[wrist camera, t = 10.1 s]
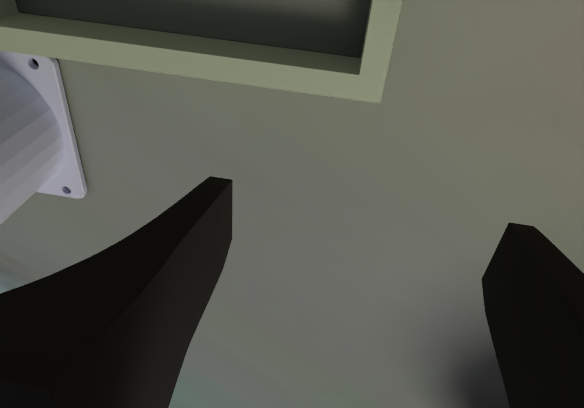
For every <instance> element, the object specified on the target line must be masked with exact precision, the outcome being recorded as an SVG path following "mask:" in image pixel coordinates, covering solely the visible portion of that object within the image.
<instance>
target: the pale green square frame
mask: <svg viewBox="0 0 584 408" xmlns="http://www.w3.org/2000/svg"><path fill="white" fill-rule="evenodd" d="M402 1H403V0H371V2H370V7H369V13H368V19H367V24H366V30H365V36H364V41H363V47H362V53H361V58H356V57H348V56H341V55H333V54H326V53H318V52H311V51H303V50H296V49H288V48H281V47H273V46H266V45H258V44H251V43H243V42H236V41H228V40H221V39H213V38H205V37H198V36H190V35H183V34H175V33H168V32H160V31H153V30H145V29H138V28H130V27H123V26H115V25H108V24H100V23H93V22H85V21H78V20H70V19H62V18H55V17H47V16H40V15H32V14H25V13H19V12H18V9H17V5H16V1H15V0H0V51H8V52H15V53H22V54H29V55H36V56H44V57H51V58H58V59H65V60H72V61H79V62H87V63H94V64H101V65H108V66H115V67H122V68H130V69H137V70H144V71H151V72H158V73H166V74H173V75H180V76H187V77H194V78H201V79H209V80H216V81H223V82H230V83H237V84H244V85H252V86H259V87H266V88H273V89H280V90H288V91H295V92H302V93H309V94H316V95H323V96H331V97H338V98H345V99H352V100H359V101H366V102H374V103H381V98H382V94H383V89H384V84H385V80H386V75H387V70H388V66H389V61H390V56H391V52H392V47H393V43H394V38H395V33H396V29H397V24H398V19H399V15H400V10H401V6H402Z"/></svg>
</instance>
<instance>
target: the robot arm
mask: <svg viewBox="0 0 584 408" xmlns="http://www.w3.org/2000/svg"><path fill="white" fill-rule="evenodd" d="M33 59H35V60H36V61H37V62H38V64H39V66H37V65H36V64H35V63H34V62H33ZM67 187H68V188H69V189H70V190H69V189H68V188H67ZM35 192H40V193H46V194H52V195H59V196H65V197H71V198H77V199H81V198H83V197H84V196H85V195H86V193H87V187H86V182H85V178H84V173H83V169H82V165H81V160H80V156H79V152H78V147H77V143H76V139H75V134H74V130H73V126H72V121H71V117H70V113H69V108H68V104H67V100H66V95H65V91H64V87H63V82H62V78H61V73H60V69H59V65H58V62H57V60H56V59H55V58H51V57H44V56H36V55H29V54H22V53H15V52H8V51H0V224H2V223H3V222H4V221H5V220H6V219H7V218H8V217H9V216H10V215H11V214H12V213H13V212H14V211H16V210H17V209H18V208H19V207H20V206H21V205H22V204H23V203H24V202H25V201H26V200H27V199H28V198H29V197H31V196H32V195H33V194H34V193H35ZM231 240H232V180H230V179H224V178H217V177H211V176H210V177H209V178H207V179H206V180H205V181H203V182H202V183H201V184H199V185H198V186H197V187H196V188H194V189H193V190H192V191H190V192H189V193H188V194H187V195H185V196H184V197H183V198H182V199H180V200H179V201H178V202H176V203H175V204H174V205H172V206H171V207H170V208H168V209H167V210H166V211H164V212H163V213H162V214H160V215H159V216H158V217H156V218H155V219H153V220H152V221H150V222H149V223H147V224H146V225H144V226H143V227H141V228H140V229H138V230H137V231H135V232H134V233H132V234H131V235H129V236H128V237H126V238H124V239H123V240H121V241H119V242H117V243H116V244H114V245H112V246H110V247H108V248H107V249H105V250H103V251H101V252H99V253H97V254H95V255H93V256H91V257H89V258H87V259H85V260H83V261H81V262H78V263H76V264H74V265H72V266H70V267H67V268H65V269H63V270H61V271H59V272H56V273H54V274H52V275H49V276H47V277H44V278H42V279H39V280H37V281H34V282H32V283H29V284H26V285H24V286H21V287H18V288H15V289H12V290H10V291H7V292H4V293H1V294H0V408H168V407H169V404H170V401H171V397H172V394H173V391H174V388H175V385H176V382H177V379H178V376H179V373H180V370H181V367H182V364H183V361H184V358H185V355H186V352H187V349H188V347H189V344H190V342H191V339H192V337H193V335H194V332H195V330H196V328H197V326H198V324H199V321H200V319H201V317H202V315H203V312H204V310H205V308H206V306H207V304H208V301H209V299H210V297H211V295H212V293H213V290H214V288H215V286H216V284H217V281H218V279H219V277H220V274H221V272H222V270H223V267H224V263H225V260H226V257H227V254H228V250H229V247H230V243H231ZM482 287H483V297H484V305H485V313H486V317H487V322H488V326H489V329H490V333H491V337H492V341H493V345H494V348H495V352H496V356H497V360H498V363H499V367H500V371H501V374H502V378H503V382H504V385H505V389H506V393H507V397H508V402H509V406H510V408H584V273H582V272H581V271H580V270H579V269H578V268H577V267H576V266H575V265H574V264H573V263H572V262H571V261H570V260H569V259H568V258H567V257H566V256H565V255H564V254H563V253H562V252H561V251H560V250H559V249H558V248H557V247H556V246H555V245H554V244H553V243H552V242H551V241H549V240H548V239H547V238H546V237H545V236H544V235H543V234H542V233H541V232H540V231H539V230H537V229H536V228H535V227H534V226H528V225H522V224H515V223H508V226H507V228H506V230H505V232H504V234H503V236H502V238H501V240H500V242H499V244H498V246H497V248H496V251H495V253H494V255H493V257H492V259H491V261H490V263H489V265H488V267H487V269H486V271H485V273H484V276H483V278H482Z"/></svg>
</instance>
